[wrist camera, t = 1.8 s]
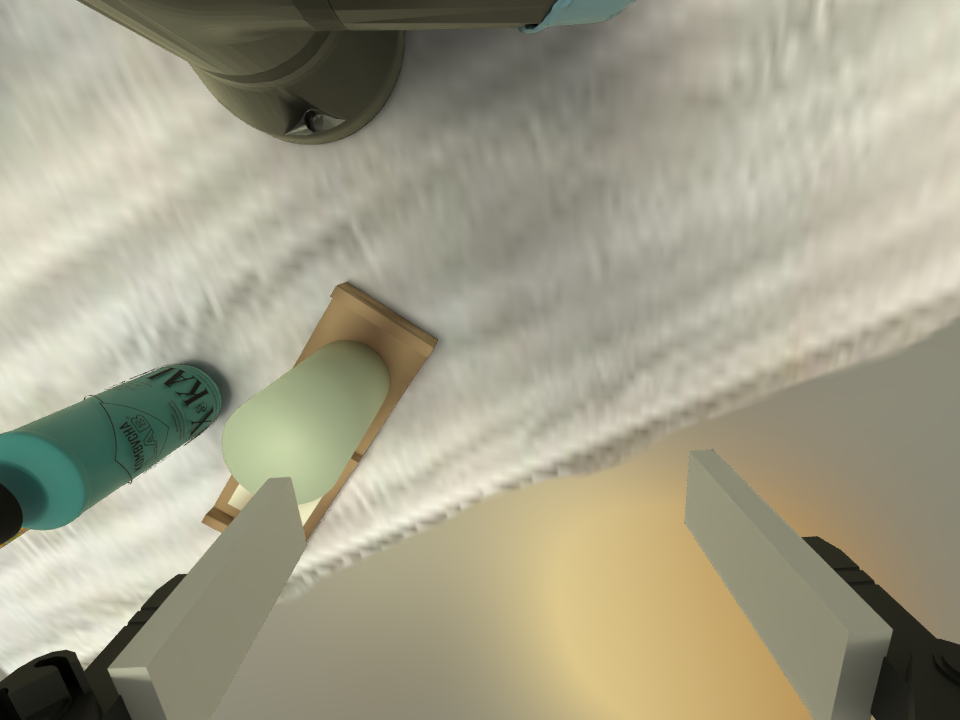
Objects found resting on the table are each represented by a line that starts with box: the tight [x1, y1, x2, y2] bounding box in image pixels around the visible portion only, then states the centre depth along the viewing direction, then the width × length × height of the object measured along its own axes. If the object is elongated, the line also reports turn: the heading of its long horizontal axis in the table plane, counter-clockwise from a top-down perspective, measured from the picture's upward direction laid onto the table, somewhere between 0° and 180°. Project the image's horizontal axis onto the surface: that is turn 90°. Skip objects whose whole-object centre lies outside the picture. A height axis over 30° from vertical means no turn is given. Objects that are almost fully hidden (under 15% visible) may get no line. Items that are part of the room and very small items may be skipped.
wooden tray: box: [202, 282, 437, 540], centre depth 40 cm, size 9×26×3 cm, turn 146°
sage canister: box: [222, 340, 390, 505], centre depth 32 cm, size 7×7×13 cm
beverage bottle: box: [0, 364, 222, 545], centre depth 31 cm, size 6×7×20 cm
